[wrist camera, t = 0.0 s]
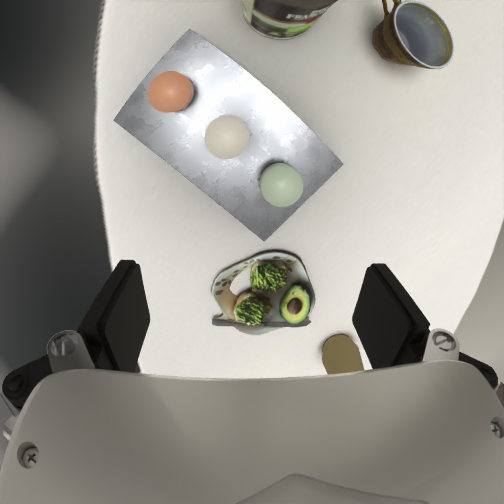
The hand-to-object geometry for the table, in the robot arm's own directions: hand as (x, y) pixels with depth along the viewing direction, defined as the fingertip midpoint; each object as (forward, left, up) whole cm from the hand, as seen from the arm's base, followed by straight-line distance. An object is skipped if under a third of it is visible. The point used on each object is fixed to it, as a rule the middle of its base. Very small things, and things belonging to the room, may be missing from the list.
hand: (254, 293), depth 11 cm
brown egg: (-1, -13, -30) cm, 32 cm away
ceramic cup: (-30, +1, -31) cm, 44 cm away
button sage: (-1, +5, -30) cm, 30 cm away
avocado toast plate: (+15, +19, -32) cm, 40 cm away
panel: (-1, -4, -31) cm, 31 cm away
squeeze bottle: (+15, +40, -31) cm, 53 cm away
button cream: (-1, -4, -30) cm, 30 cm away
